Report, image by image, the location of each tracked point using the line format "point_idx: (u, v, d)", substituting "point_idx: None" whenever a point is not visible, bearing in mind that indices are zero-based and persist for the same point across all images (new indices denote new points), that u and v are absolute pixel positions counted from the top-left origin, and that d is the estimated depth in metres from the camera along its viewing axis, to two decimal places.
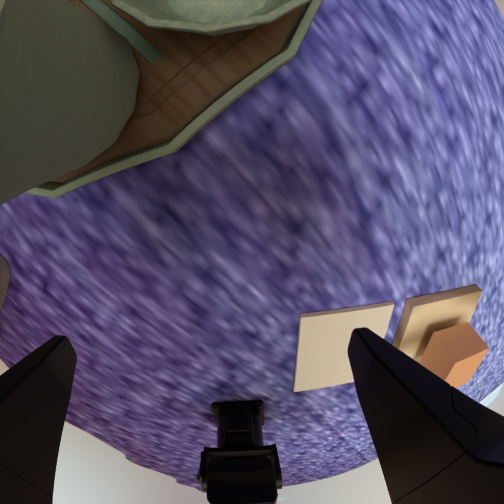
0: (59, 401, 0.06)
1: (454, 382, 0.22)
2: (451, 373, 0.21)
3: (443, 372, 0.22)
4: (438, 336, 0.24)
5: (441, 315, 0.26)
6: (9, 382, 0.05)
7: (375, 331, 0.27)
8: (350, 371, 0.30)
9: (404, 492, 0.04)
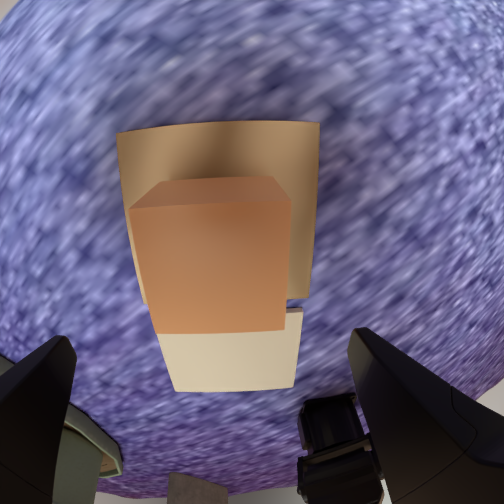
0: (59, 401, 0.06)
1: (245, 287, 0.11)
2: (192, 326, 0.12)
3: None
4: None
5: None
6: (9, 383, 0.05)
7: None
8: (271, 343, 0.23)
9: (404, 492, 0.04)
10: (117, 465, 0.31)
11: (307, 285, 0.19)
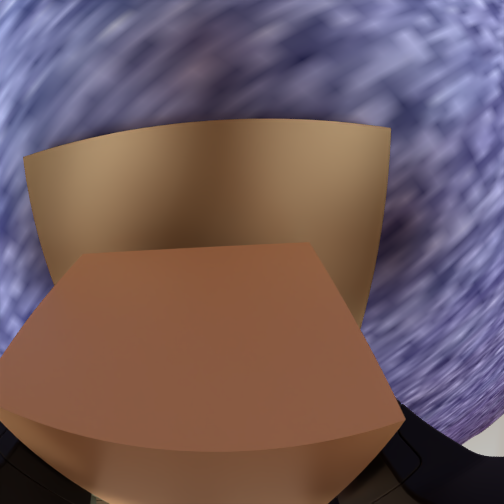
0: None
1: None
2: None
3: None
4: None
5: None
6: None
7: None
8: None
9: None
10: None
11: None
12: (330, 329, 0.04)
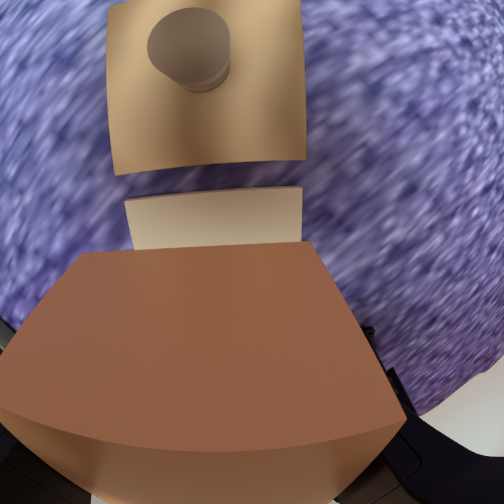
0: None
1: None
2: None
3: None
4: None
5: (140, 90, 0.13)
6: None
7: (173, 217, 0.18)
8: (267, 234, 0.19)
9: None
10: None
11: (303, 143, 0.16)
12: (331, 328, 0.04)
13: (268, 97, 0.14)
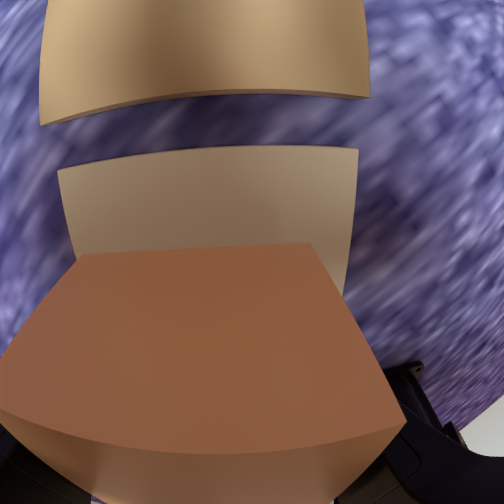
0: None
1: None
2: None
3: None
4: None
5: None
6: None
7: (131, 195, 0.10)
8: (295, 229, 0.11)
9: None
10: None
11: (364, 68, 0.07)
12: (331, 330, 0.04)
13: None
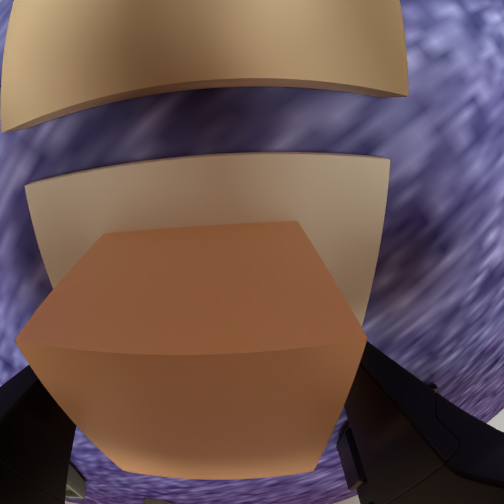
0: None
1: (255, 451, 0.05)
2: (173, 473, 0.06)
3: None
4: None
5: None
6: (20, 386, 0.05)
7: (109, 216, 0.08)
8: None
9: (387, 498, 0.04)
10: (71, 489, 0.17)
11: (401, 60, 0.05)
12: (309, 278, 0.05)
13: None
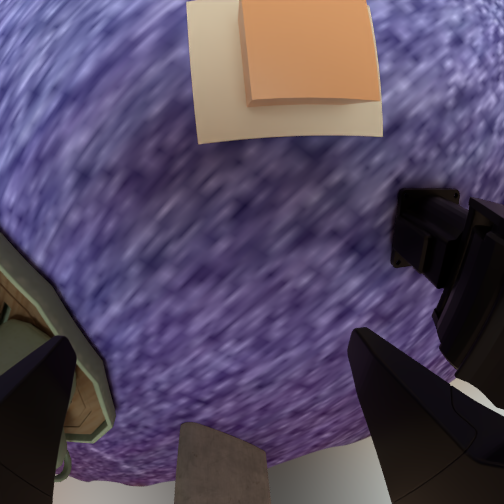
0: (59, 401, 0.06)
1: (342, 50, 0.10)
2: (294, 87, 0.10)
3: (301, 99, 0.11)
4: (247, 101, 0.14)
5: None
6: (9, 383, 0.05)
7: None
8: None
9: (404, 492, 0.04)
10: (101, 400, 0.23)
11: None
12: None
13: None
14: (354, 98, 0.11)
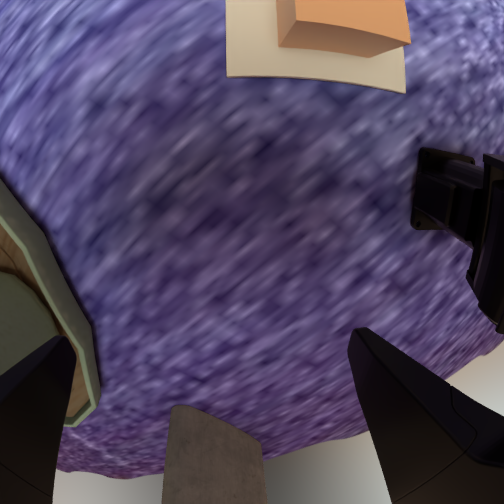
0: (59, 401, 0.06)
1: None
2: (335, 17, 0.09)
3: (339, 31, 0.10)
4: (280, 39, 0.12)
5: None
6: (9, 383, 0.05)
7: None
8: None
9: (404, 492, 0.04)
10: (85, 373, 0.20)
11: None
12: None
13: None
14: (388, 37, 0.09)
